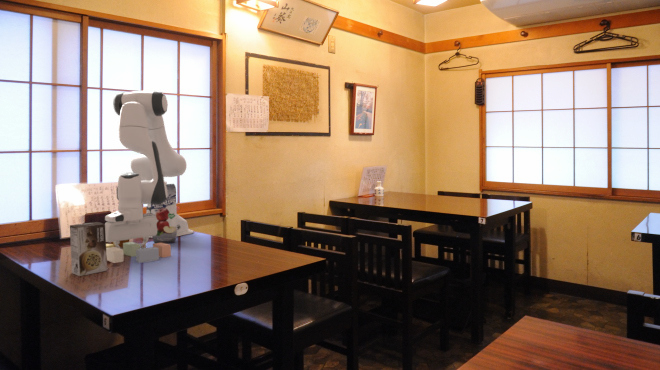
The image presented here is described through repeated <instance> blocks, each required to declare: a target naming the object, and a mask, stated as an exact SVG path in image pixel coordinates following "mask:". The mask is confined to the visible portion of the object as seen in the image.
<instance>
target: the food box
mask: <svg viewBox="0 0 660 370" xmlns="http://www.w3.org/2000/svg"><path fill="white" fill-rule="evenodd" d="M69 239H70V240H69V241H70V255H71V256H70V259H71V260H70V261H71V274H73V275H76V276H78V277H82V276H87V275H91V274H97V273H101V272H106V271H108V261H107V255H106V244H107V242H106V234H105V223H102V222H99V221H93V222H86V223H77V224H71V225H69Z"/></svg>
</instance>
